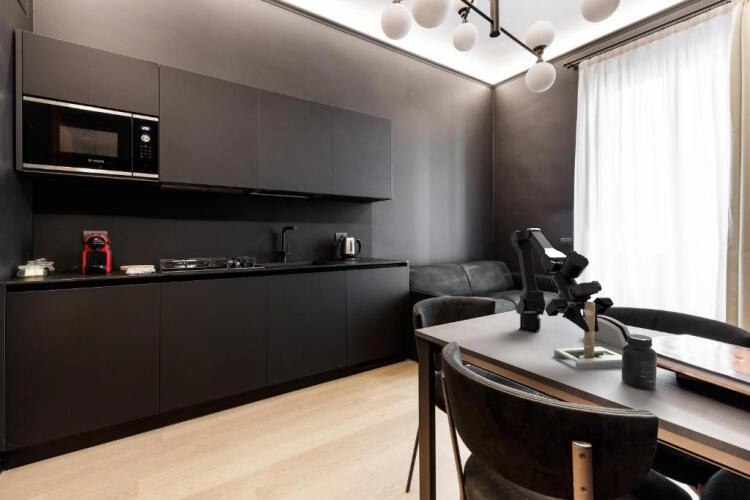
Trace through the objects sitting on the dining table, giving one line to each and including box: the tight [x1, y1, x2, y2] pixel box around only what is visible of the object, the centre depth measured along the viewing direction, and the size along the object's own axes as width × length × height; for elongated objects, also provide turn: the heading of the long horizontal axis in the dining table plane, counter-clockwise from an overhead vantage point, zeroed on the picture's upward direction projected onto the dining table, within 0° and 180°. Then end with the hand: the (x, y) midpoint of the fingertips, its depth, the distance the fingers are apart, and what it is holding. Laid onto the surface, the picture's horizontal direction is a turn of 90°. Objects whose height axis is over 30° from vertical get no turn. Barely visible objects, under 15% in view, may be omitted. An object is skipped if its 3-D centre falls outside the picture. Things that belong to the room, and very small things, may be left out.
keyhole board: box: [553, 346, 622, 370], centre depth 102 cm, size 15×11×2 cm
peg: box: [578, 301, 597, 359], centre depth 101 cm, size 5×5×17 cm
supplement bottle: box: [620, 333, 658, 391], centre depth 85 cm, size 7×7×12 cm
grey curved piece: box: [594, 314, 631, 350], centre depth 119 cm, size 17×5×10 cm, turn 5°
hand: (592, 331), depth 100 cm, fingers closed on peg, 2 cm apart
